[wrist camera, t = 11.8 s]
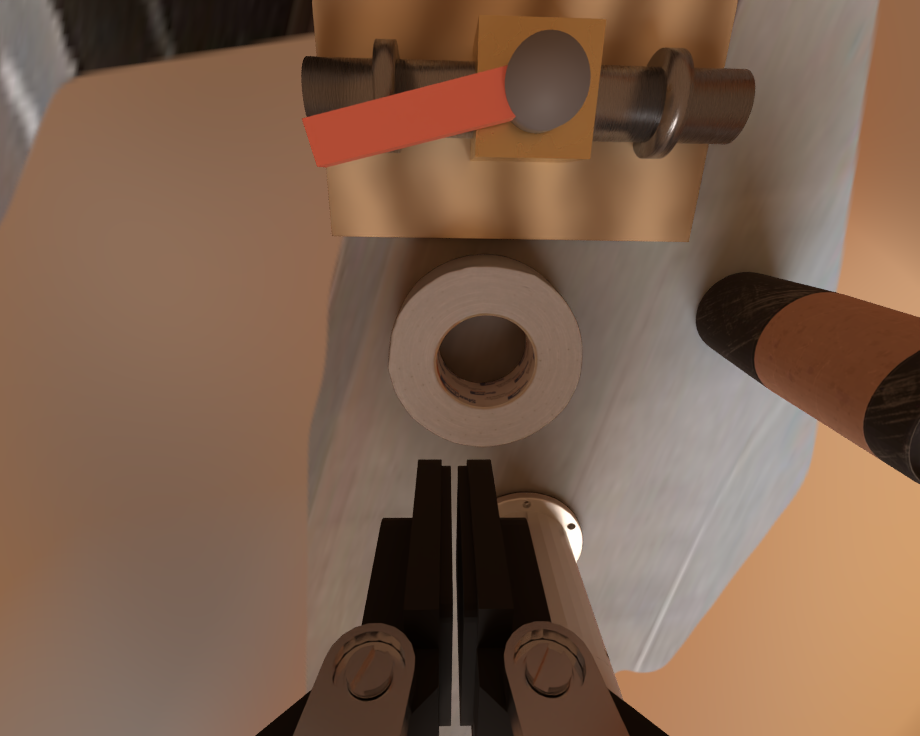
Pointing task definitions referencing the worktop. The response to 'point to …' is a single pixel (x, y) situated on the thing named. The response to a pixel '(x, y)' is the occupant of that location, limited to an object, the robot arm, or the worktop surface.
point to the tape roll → (499, 402)
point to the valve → (600, 118)
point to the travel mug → (825, 358)
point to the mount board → (520, 183)
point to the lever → (462, 104)
